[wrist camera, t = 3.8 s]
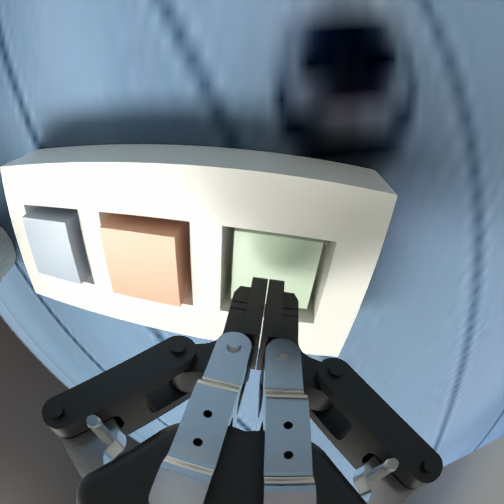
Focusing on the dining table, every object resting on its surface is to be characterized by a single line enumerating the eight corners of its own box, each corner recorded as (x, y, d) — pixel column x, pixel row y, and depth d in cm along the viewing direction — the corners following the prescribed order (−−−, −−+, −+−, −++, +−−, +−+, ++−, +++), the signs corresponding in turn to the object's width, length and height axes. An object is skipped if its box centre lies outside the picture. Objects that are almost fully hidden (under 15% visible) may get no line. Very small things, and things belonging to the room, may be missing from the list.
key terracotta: (130, 270, 18) (113, 292, 16) (120, 208, 16) (99, 227, 14) (192, 281, 18) (180, 306, 16) (190, 216, 15) (174, 237, 13)
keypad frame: (62, 265, 23) (36, 292, 19) (37, 149, 17) (0, 166, 13) (333, 313, 21) (337, 356, 17) (374, 169, 15) (397, 194, 11)
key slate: (56, 254, 18) (38, 272, 16) (43, 202, 16) (21, 217, 14) (99, 263, 18) (81, 284, 16) (87, 205, 16) (64, 222, 14)
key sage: (238, 274, 19) (230, 298, 17) (242, 211, 16) (234, 230, 14) (306, 283, 18) (306, 309, 16) (319, 222, 16) (323, 242, 14)
